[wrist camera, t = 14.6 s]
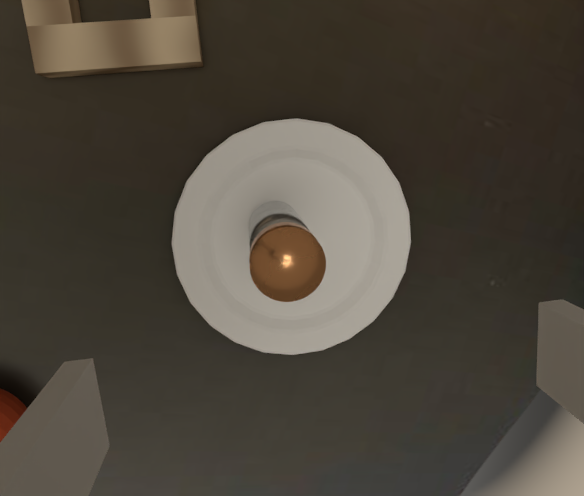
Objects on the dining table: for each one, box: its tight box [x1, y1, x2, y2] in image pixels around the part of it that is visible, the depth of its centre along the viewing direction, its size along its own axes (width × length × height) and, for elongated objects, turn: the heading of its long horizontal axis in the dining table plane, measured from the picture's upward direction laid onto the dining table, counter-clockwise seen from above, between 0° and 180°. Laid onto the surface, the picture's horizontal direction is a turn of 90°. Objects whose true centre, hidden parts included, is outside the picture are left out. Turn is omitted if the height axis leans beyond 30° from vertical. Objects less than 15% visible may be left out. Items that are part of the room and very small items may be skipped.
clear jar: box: [249, 201, 326, 302], centre depth 35 cm, size 4×4×13 cm
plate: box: [172, 118, 411, 355], centre depth 42 cm, size 21×21×2 cm
